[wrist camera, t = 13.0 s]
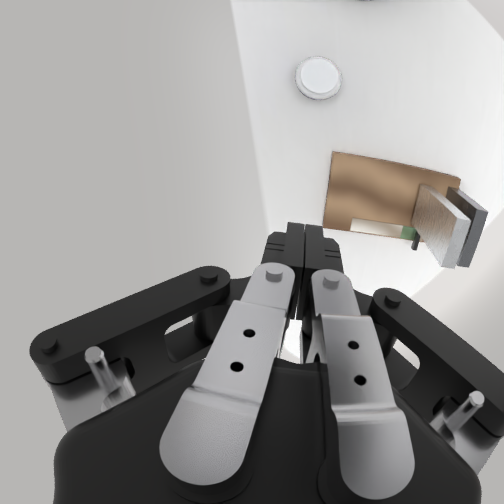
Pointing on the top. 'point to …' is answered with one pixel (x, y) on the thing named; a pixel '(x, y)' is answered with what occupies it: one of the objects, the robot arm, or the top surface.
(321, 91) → the pill bottle
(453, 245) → the brushed steel sheet
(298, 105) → the top surface
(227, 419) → the robot arm
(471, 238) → the grey wood-grain slab
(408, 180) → the brown wooden base board
